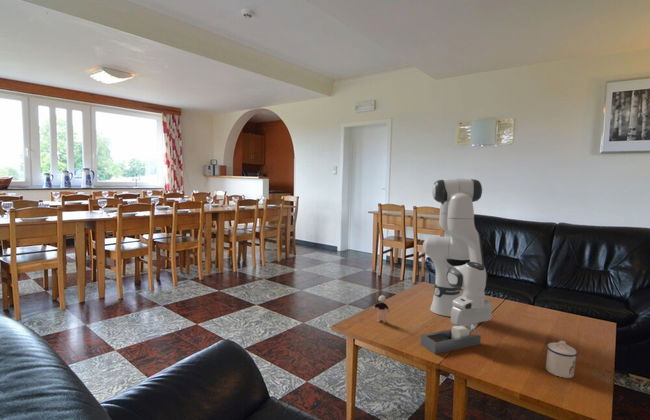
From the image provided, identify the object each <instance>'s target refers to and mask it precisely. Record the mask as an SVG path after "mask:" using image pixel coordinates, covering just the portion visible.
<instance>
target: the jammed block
mask: <svg viewBox="0 0 650 420" xmlns="http://www.w3.org/2000/svg"><path fill="white" fill-rule="evenodd" d="M465 327H466V326H465V325H462V326H456V325H454V326H451V329H452V331H451V338H452V339H454V338H460V337H465V336H470V333H469V332H470V330H469V329H467V328H465Z"/></svg>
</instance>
